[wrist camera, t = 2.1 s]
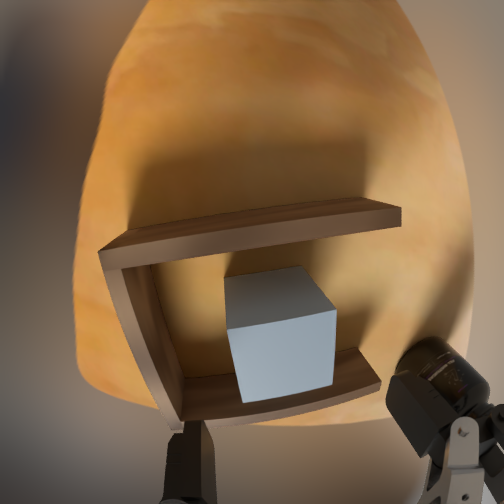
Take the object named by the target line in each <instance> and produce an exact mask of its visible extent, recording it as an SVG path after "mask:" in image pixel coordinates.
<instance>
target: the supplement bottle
mask: <svg viewBox="0 0 504 504" xmlns="http://www.w3.org/2000/svg"><path fill="white" fill-rule="evenodd" d="M405 370H409V371H410V372H411V373H412V374H413V375H414V376H415V377H419V376H420V377H421V378H423V379H425V380H427V381H429V382H430V383H431V385H432V386H433V387H434V388H435V390H437V391H438V392H439V393H440V396H442V397H443V398H444V399H445V400H446V401H447V402H448V404H449V405H450V406H451V407H452V408H453V409H454V410H455V412H456V413H457V414H458V415H459V416H460V417H470V418H472V419H474V420H475V419H478V418H481V417H484V416H487V415H489V414H490V413H491V412H492V410H493V409H494V407H495V406H494V405H493V404H488V403H487V402H488V399H489V395H490V387H489V384H488V382H486V380H485V379H484V378H483V377H482V376H481V375H480V374H479V373H478V372H477V371H476V370H475V369H474V368H473V367H472V366H471V365H470V364H469V363H468V362H467V361H466V360H465V359H464V358H463V357H462V356H461V355H460V354H459V353H458V352H456V351H455V350H454V349H453V348H452V347H451V346H450V345H449V344H448V343H447V342H446V341H444V340H443V339H442V338H440V337H429V338H426V339H424V340H422V341H420V342H419V343H417V344H416V345H415V346H413V347H412V348H411V349H410V350H409V351H408V352H407V353H406V354H405V356H404V357H403V358H402V360H401V361H400V363H399V365H398V367H397V369H396V372H395V375H396V374H398V373H400V372H403V371H405Z"/></svg>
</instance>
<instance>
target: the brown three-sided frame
mask: <svg viewBox="0 0 504 504" xmlns="http://www.w3.org/2000/svg"><path fill="white" fill-rule="evenodd" d="M394 227H401V207H398V206H394V205H390V204H387V203H383V202H379V201H375V200H371V199H367V198H362V197H358V198H347V199H337V200H328V201H318V202H309V203H301V204H292V205H284V206H276V207H269V208H261V209H254V210H247V211H240V212H233V213H226V214H219V215H213V216H207V217H200V218H194V219H188V220H182V221H176V222H170V223H165V224H159V225H154V226H148V227H143V228H137V229H132V230H127V231H125V232H124V233H123V234H121V235H120V236H118V237H117V238H116V239H114V240H113V241H111V242H110V243H109V244H107V245H106V246H105V247H103V248H102V249H100V250H99V251H98V255H99V259H100V262H101V266H102V269H103V273H104V276H105V280H106V283H107V286H108V289H109V292H110V295H111V299H112V301H113V304H114V307H115V310H116V313H117V316H118V319H119V321H120V324H121V327H122V329H123V332H124V334H125V337H126V339H127V342H128V344H129V347H130V349H131V351H132V354H133V356H134V358H135V361H136V363H137V365H138V367H139V370H140V372H141V374H142V376H143V378H144V380H145V382H146V384H147V386H148V389H149V391H150V393H151V394H152V396H153V398H154V400H155V402H156V404H157V406H158V408H159V410H160V411H161V413H162V415H163V417H164V419H165V421H166V422H167V424H168V426H169V428H170V429H171V430H183V428H184V422H185V421H189V420H204V422H205V424H206V426H207V428H219V427H228V426H237V425H245V424H252V423H258V422H264V421H270V420H275V419H280V418H285V417H290V416H295V415H299V414H304V413H308V412H312V411H316V410H320V409H323V408H327V407H331V406H334V405H337V404H341V403H344V402H347V401H350V400H354V399H357V398H360V397H363V396H365V395H368V394H371V393H374V392H377V391H379V390H380V386H381V382H382V381H381V380H380V378H379V377H378V376H377V374H376V373H375V371H374V370H373V369H372V367H371V366H370V364H369V363H368V362H367V360H366V359H365V357H364V356H363V355H362V353H361V352H360V351H359V349H358V348H357V347H355V348H352V349H348V350H345V351H341V352H337V353H335V357H334V370H333V382H332V385H329V386H325V387H321V388H317V389H313V390H309V391H305V392H300V393H296V394H291V395H286V396H281V397H276V398H271V399H265V400H259V401H253V402H246V403H243V401H242V397H241V393H240V389H239V384H238V380H237V375H236V373H233V374H225V375H217V376H209V377H199V378H188V379H185V377H184V375H183V372H182V369H181V367H180V364H179V361H178V358H177V355H176V352H175V350H174V347H173V344H172V341H171V338H170V335H169V331H168V328H167V325H166V322H165V319H164V315H163V312H162V309H161V305H160V302H159V298H158V295H157V291H156V287H155V283H154V280H153V276H152V272H151V268H150V264H155V263H161V262H168V261H174V260H181V259H187V258H194V257H200V256H207V255H213V254H220V253H227V252H233V251H240V250H246V249H253V248H259V247H266V246H273V245H279V244H286V243H293V242H299V241H306V240H313V239H319V238H326V237H333V236H339V235H346V234H353V233H360V232H367V231H373V230H380V229H387V228H394Z"/></svg>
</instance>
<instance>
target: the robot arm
mask: <svg viewBox="0 0 504 504" xmlns="http://www.w3.org/2000/svg"><path fill="white" fill-rule="evenodd" d="M386 406H387V408H388V410H389V412H390V413H391V415H392V416H393V418H394V419H395V421H396V422H397V424H398V425H399V427H400V428H401V430H402V431H403V433H404V434H405V436H406V437H407V439H408V440H409V442H410V443H411V445H412V446H413V448H414V449H415V451H416V452H417V454H418V456H419V457H420V458H422V457H424V456H425V455H427V454H429V455H430V459H429V464H428V469H427V474H426V479H425V484H424V488H423V492H422V495H421V497H420V499H419V501H418V502H417V504H481V501H482V492H483V484H484V482H485V484H486V485H487V487H488V489H489V490H490V492H491V494H492V495H493V497H494V499H495V501H496V502H497V504H504V454H503V453H502V451H501V450H500V449H499V447H498V446H497V442H498V443H499V444H500V446H501V447H502V448H503V450H504V404H499V405H497V406H495V407H494V409H493V410H492V412H491V413H490V414H489V415H487V416H484V417H481V418H478V419H475V420H474V419H472V418H470V417H460V416H459V415H458V414H457V413H456V412H455V410H454V409H453V408H452V407H451V406H450V405H449V404H448V402H447V401H446V400H445V399H444V398H443V397H442V396H440V393H439V392H438V391H437V390H435V388H434V387H433V386H432V385H431V383H430V382H429V381H427V380H425V379H423V378H421V377H420V376H419V377H415V376H414V375H413V374H412V373H411V372H410V371H409V370H405V371H403V372H400V373H398V374H396V375H393V376H392V377H391V380H390V384H389V387H388V391H387V395H386ZM214 452H215V451H214V444H213V440H212V438H211V435H210V433H209V431H208V428H207V426H206V424H205V422H204V420H189V421H185V422H184V428H183V433H174V435H173V436H172V438H171V439H170V441H169V443H168V449H167V459H166V463H167V464H166V469H165V480H164V493H163V497H162V500H161V501H160V503H159V504H217V491H216V474H215V453H214Z"/></svg>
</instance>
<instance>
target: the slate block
mask: <svg viewBox="0 0 504 504" xmlns="http://www.w3.org/2000/svg"><path fill="white" fill-rule="evenodd" d="M224 290H225V309H226V325H227V333H228V338H229V343H230V348H231V352H232V357H233V362H234V366H235V371H236V375H237V380H238V384H239V389H240V393H241V397H242V401H243V403H246V402H253V401H259V400H265V399H271V398H276V397H281V396H286V395H291V394H296V393H300V392H305V391H309V390H313V389H317V388H321V387H325V386H329V385H332V382H333V370H334V357H335V340H336V316H337V309H336V308H335V307H334V305H333V304H332V303H331V302H330V300H329V299H328V298H327V297H326V296H325V294H324V293H323V292H322V291H321V289H320V288H319V287H318V286H317V284H316V283H315V282H314V281H313V279H312V278H311V277H310V276H309V275H308V273H307V272H306V271H305V270H304V268H303V267H302V266H296V267H290V268H283V269H277V270H271V271H265V272H258V273H252V274H246V275H239V276H233V277H226V278H224Z"/></svg>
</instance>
